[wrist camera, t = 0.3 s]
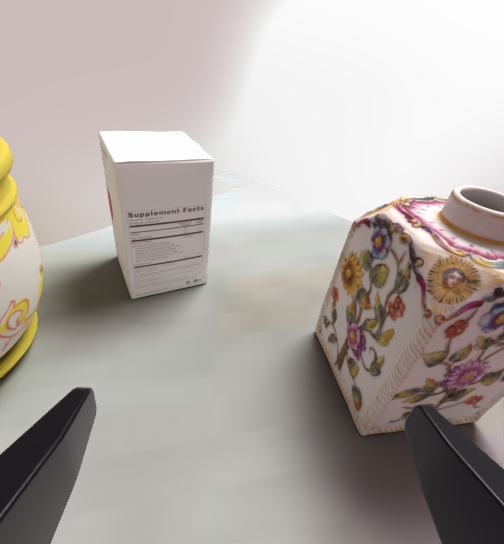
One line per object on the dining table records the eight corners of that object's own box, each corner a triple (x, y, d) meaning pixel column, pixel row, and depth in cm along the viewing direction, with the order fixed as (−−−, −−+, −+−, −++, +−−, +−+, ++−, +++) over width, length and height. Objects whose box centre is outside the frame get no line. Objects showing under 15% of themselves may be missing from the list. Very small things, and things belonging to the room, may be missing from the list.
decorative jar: (406, 325, 37) (498, 171, 26) (480, 424, 28) (666, 250, 17) (309, 329, 34) (366, 160, 24) (354, 439, 25) (481, 246, 14)
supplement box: (115, 255, 40) (96, 129, 31) (184, 245, 44) (185, 130, 35) (129, 301, 34) (111, 160, 25) (208, 284, 38) (216, 157, 29)
